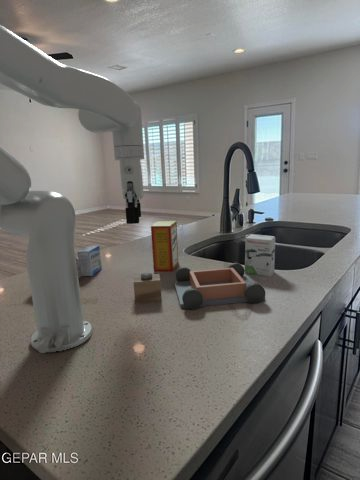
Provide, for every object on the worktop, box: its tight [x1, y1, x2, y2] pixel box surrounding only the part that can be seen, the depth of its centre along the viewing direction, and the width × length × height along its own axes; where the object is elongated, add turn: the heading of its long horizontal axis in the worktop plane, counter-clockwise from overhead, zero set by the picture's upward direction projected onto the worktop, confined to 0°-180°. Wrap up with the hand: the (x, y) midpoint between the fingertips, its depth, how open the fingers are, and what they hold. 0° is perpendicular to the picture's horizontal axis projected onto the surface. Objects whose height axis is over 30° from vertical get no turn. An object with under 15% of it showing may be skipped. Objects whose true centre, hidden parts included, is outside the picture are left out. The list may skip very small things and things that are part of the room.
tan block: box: [132, 272, 163, 304], centre depth 90 cm, size 5×7×7 cm
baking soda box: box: [150, 220, 180, 273], centre depth 115 cm, size 10×6×16 cm
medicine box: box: [77, 245, 103, 277], centre depth 114 cm, size 8×4×9 cm, turn 168°
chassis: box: [173, 262, 266, 310], centre depth 92 cm, size 19×22×5 cm
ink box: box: [244, 233, 276, 277], centre depth 106 cm, size 9×5×12 cm, turn 60°
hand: (134, 220), depth 89 cm, fingers open, 9 cm apart
